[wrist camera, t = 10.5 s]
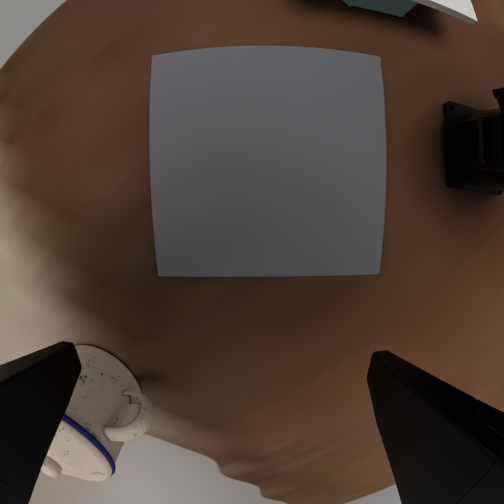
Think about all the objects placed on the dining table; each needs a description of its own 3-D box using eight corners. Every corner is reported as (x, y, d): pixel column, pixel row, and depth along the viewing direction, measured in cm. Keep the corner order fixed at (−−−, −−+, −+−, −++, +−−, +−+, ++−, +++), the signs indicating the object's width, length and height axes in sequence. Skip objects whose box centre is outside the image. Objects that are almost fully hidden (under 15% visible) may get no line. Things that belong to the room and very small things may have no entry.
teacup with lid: (92, 414, 24) (49, 492, 13) (47, 345, 22) (-21, 418, 11) (189, 410, 23) (161, 519, 12) (144, 328, 21) (74, 440, 10)
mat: (377, 59, 15) (379, 56, 15) (376, 271, 19) (379, 274, 19) (154, 58, 16) (152, 55, 15) (160, 273, 20) (158, 276, 19)
